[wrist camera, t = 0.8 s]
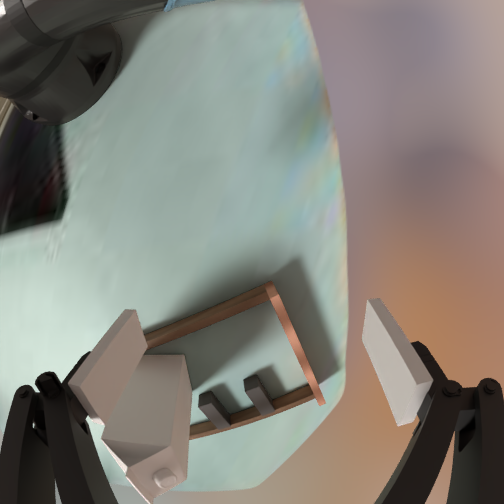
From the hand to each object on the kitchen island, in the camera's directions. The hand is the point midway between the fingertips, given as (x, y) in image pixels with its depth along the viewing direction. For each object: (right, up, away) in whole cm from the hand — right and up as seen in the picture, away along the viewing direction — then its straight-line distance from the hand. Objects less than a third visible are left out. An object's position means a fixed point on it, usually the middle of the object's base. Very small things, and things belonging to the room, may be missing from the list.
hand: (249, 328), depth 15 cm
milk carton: (-12, -12, +19) cm, 26 cm away
